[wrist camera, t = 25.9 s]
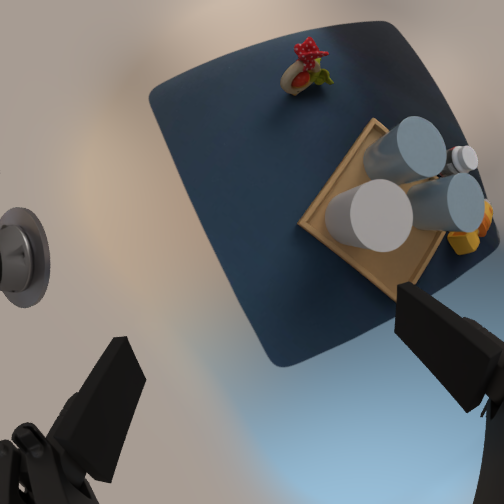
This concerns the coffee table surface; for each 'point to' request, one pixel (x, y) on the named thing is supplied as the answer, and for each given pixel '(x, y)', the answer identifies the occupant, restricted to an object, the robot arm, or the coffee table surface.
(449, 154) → the pill bottle
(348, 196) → the light grey cylinder
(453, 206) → the grey-blue cylinder
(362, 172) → the tray
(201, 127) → the coffee table surface
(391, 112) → the coffee table surface
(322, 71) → the bird rattle
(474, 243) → the toy figure
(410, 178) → the slate blue cylinder
